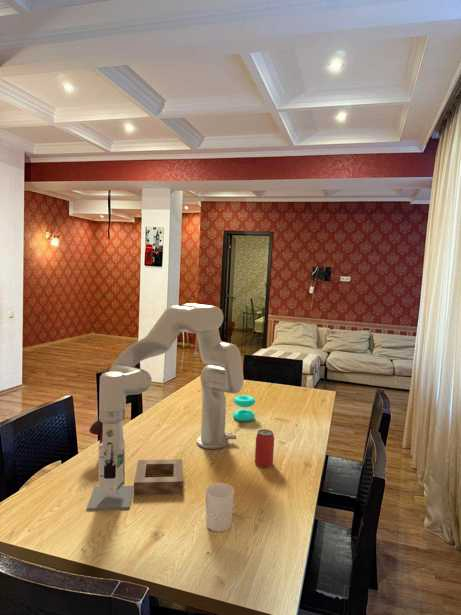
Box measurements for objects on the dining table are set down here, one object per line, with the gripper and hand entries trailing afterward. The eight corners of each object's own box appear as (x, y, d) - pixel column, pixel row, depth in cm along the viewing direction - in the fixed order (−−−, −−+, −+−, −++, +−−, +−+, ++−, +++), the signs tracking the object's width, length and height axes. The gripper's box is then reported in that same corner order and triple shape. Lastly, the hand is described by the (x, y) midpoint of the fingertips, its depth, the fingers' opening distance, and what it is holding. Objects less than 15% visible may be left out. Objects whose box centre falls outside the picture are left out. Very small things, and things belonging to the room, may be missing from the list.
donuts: (232, 400, 195) (235, 393, 205) (232, 421, 196) (234, 413, 206) (254, 401, 194) (255, 395, 204) (253, 423, 195) (254, 415, 205)
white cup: (204, 516, 122) (205, 482, 121) (231, 516, 123) (233, 482, 122) (204, 533, 114) (206, 498, 113) (234, 533, 115) (235, 497, 114)
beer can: (274, 461, 158) (276, 430, 156) (270, 469, 151) (272, 437, 150) (257, 458, 160) (259, 427, 158) (252, 466, 153) (254, 433, 152)
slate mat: (133, 487, 136) (133, 485, 136) (129, 508, 124) (129, 507, 124) (94, 488, 134) (94, 486, 134) (86, 510, 122) (86, 508, 122)
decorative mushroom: (95, 450, 160) (95, 411, 159) (124, 452, 160) (125, 413, 159) (84, 464, 150) (84, 422, 148) (115, 466, 149) (116, 424, 148)
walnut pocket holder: (182, 470, 148) (182, 459, 148) (182, 493, 133) (183, 481, 133) (137, 471, 146) (138, 460, 146) (133, 495, 131) (133, 482, 131)
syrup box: (116, 494, 125) (116, 446, 124) (97, 491, 127) (98, 444, 125) (124, 484, 131) (125, 438, 130) (107, 481, 132) (107, 436, 131)
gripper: (121, 424, 118) (120, 486, 120) (128, 404, 136) (127, 458, 137) (93, 425, 117) (93, 487, 119) (104, 404, 135) (103, 458, 136)
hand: (111, 471), depth 128 cm, fingers closed on syrup box, 7 cm apart
